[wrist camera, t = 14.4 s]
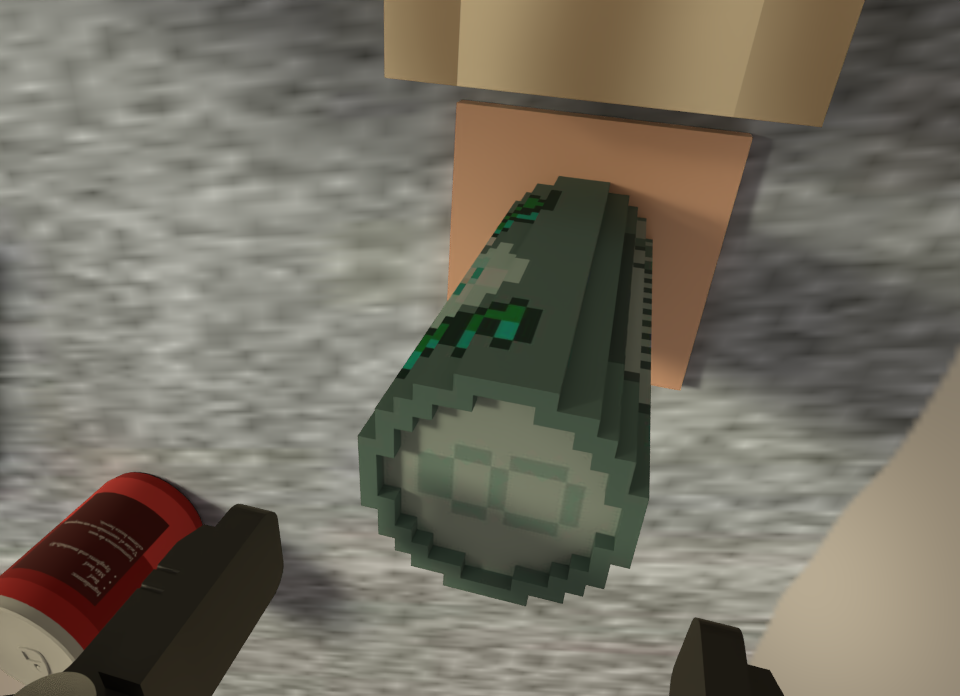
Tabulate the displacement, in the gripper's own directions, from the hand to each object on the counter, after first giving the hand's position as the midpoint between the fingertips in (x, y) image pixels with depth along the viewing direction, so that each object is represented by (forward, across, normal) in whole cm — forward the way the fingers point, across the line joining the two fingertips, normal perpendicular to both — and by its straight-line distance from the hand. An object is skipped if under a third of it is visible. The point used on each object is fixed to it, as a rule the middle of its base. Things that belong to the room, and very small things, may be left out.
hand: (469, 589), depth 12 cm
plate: (+18, 0, 0) cm, 18 cm away
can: (+17, 0, 0) cm, 17 cm away
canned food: (+18, +26, +24) cm, 39 cm away
